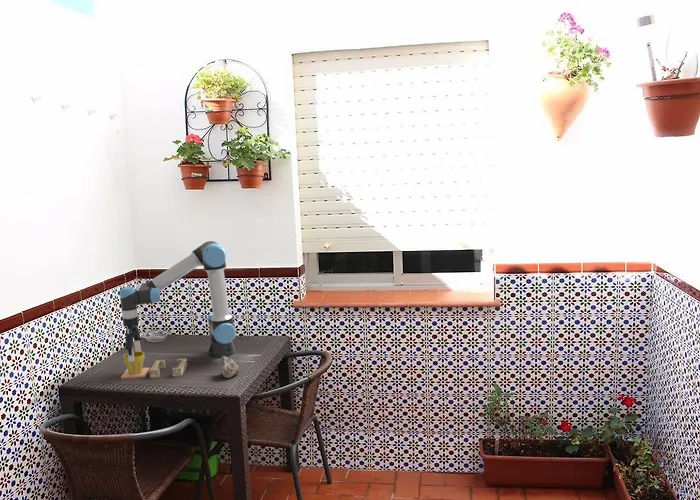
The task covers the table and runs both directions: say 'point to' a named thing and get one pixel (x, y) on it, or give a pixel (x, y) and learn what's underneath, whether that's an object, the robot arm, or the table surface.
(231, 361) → the rock
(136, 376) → the tile
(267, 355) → the table surface
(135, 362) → the plant pot
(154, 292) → the robot arm
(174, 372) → the flower pot holder
